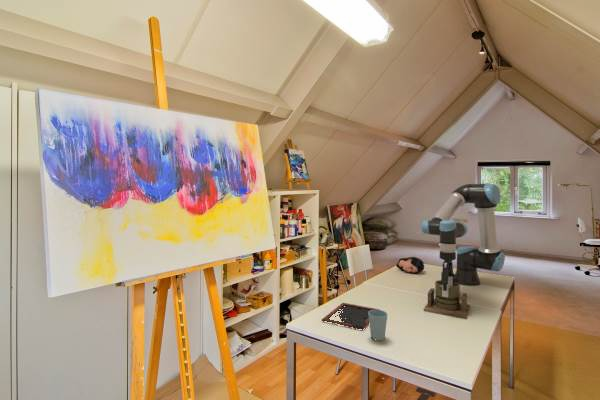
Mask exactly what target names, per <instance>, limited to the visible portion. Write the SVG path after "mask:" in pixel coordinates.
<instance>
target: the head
mask: <svg viewBox="0 0 600 400" xmlns="http://www.w3.org/2000/svg"><path fill="white" fill-rule="evenodd" d="M396 267H397V268H398V269H399V270H400V271H403V272H407V273H410V274H413V275H417V274H419V273H422V272H424V270H425V263H424V261H423V260H422V259H420V258H419V257H416V256H409V257H403V258H399V260H398V261H397V264H396Z"/></svg>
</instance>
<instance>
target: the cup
mask: <svg viewBox="0 0 600 400" xmlns="http://www.w3.org/2000/svg"><path fill="white" fill-rule="evenodd" d="M368 314H369V323H370V324H369V330H370V338H371V337H372V338H373V339H376V340H382V341H384V340H385V339H384V338H386V329H387V320H388V312H386V311H384V310H381V309H380V310H371V311H369V312H368ZM372 338H371V339H372ZM373 339H372V340H373ZM383 339H384V340H383ZM376 340H375V341H376Z"/></svg>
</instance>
